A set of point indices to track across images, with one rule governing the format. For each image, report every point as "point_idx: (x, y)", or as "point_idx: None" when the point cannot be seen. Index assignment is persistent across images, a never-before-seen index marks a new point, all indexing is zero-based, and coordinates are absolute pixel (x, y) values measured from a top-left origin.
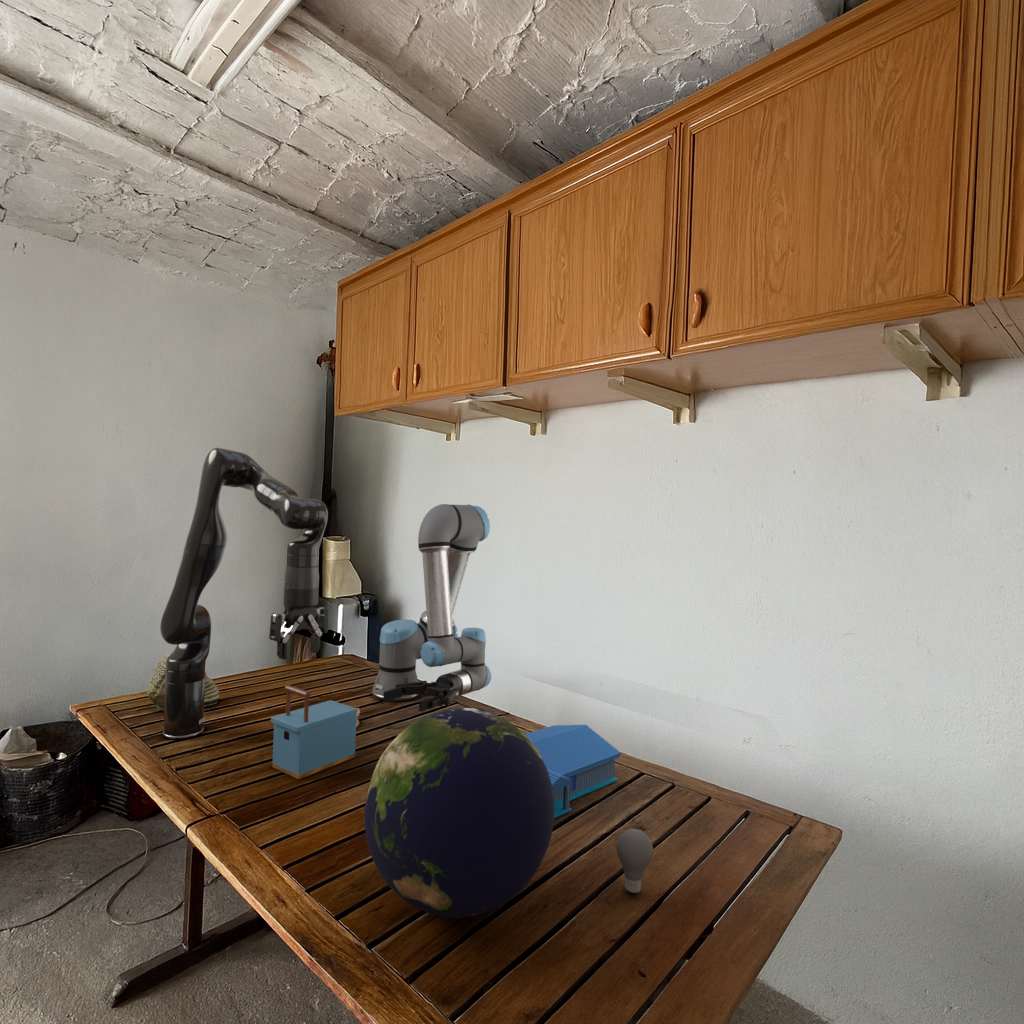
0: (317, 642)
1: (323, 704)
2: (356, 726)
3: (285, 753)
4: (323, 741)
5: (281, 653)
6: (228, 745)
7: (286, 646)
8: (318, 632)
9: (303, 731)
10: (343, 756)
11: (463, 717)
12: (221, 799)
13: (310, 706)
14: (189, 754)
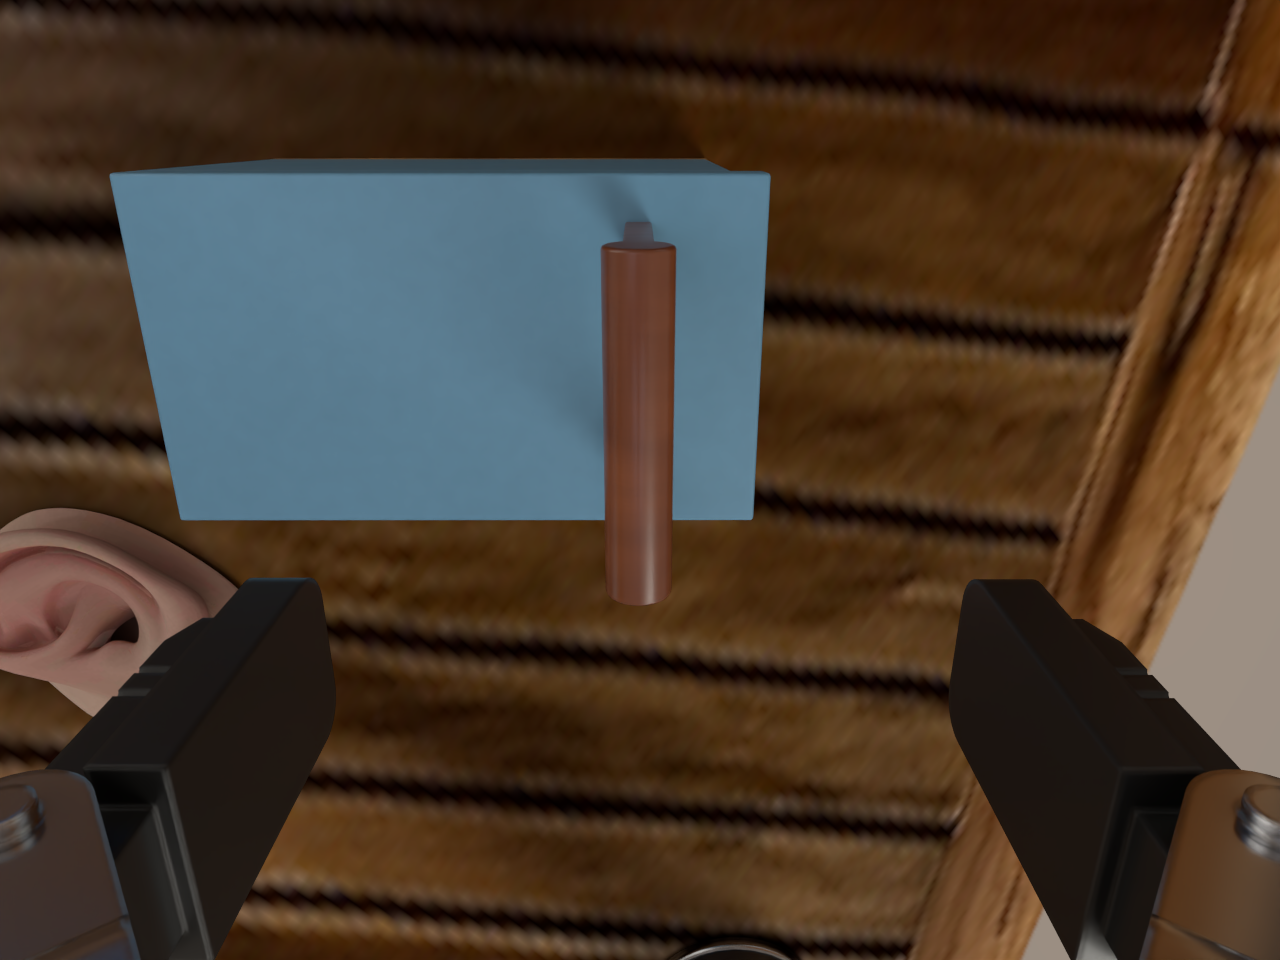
0: (192, 687)
1: (288, 473)
2: (25, 515)
3: None
4: (512, 165)
5: (1118, 662)
6: (679, 770)
7: (1105, 715)
8: (19, 868)
9: (701, 170)
10: (366, 159)
11: None
12: (1097, 266)
13: (394, 508)
14: (855, 797)
